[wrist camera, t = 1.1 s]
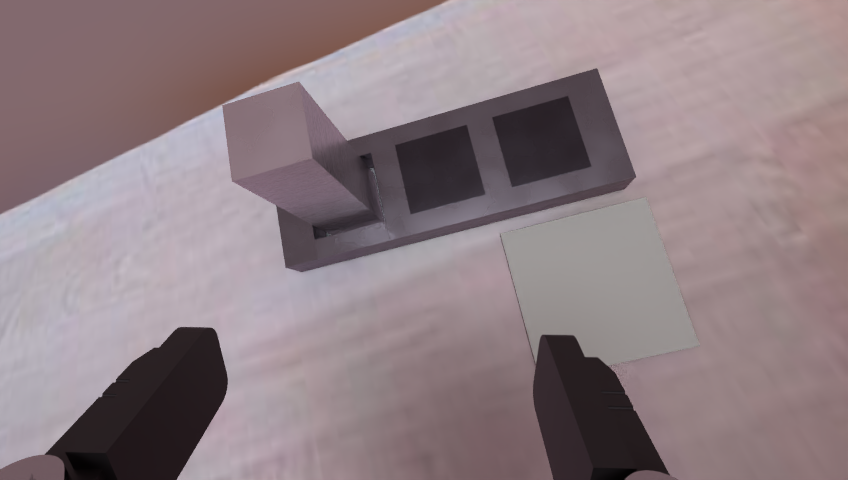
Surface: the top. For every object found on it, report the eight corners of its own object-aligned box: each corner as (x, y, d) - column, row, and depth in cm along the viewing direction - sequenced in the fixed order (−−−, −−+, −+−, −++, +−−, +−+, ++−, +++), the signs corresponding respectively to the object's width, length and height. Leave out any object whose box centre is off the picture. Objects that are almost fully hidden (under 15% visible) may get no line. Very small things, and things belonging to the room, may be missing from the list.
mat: (644, 198, 29) (646, 196, 29) (696, 345, 27) (699, 345, 27) (500, 234, 30) (500, 233, 30) (539, 379, 28) (540, 379, 28)
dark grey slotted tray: (589, 88, 31) (597, 67, 29) (624, 188, 30) (636, 176, 27) (285, 174, 34) (269, 162, 32) (301, 271, 32) (285, 267, 30)
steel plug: (374, 174, 33) (299, 81, 20) (384, 223, 32) (312, 158, 19) (325, 188, 33) (222, 105, 21) (334, 236, 33) (232, 181, 20)
